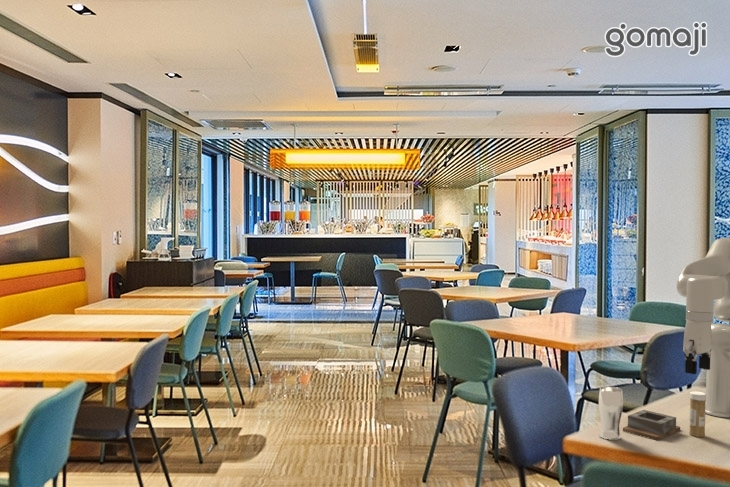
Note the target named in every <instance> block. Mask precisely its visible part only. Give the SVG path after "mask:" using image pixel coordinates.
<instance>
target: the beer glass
mask: <svg viewBox="0 0 730 487" xmlns="http://www.w3.org/2000/svg"><path fill="white" fill-rule="evenodd" d="M623 395H624V394H623V389H622V388H620V387H615V386H610V385H609V386H607V385H606V386H604V385H603V386H600V387H599V394H598V410H599V418H600V430H599V434H598V435H599V437H600V438H601V437H602V438H601V439H603V438H604V440H607V439H609V440H608V441H619V440H620V439H621V432H620V423H621V418H622V414H623V408H624V405H623V404H624V397H623ZM618 439H619V440H618Z"/></svg>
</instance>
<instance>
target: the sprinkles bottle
mask: <svg viewBox="0 0 730 487" xmlns="http://www.w3.org/2000/svg"><path fill="white" fill-rule="evenodd" d="M689 399H690V400H689V401H690V402H689V405H690V406H689V430H688V434H689V435H690V436H692V437H696V438H703V437H705V436H706V434H705V430H706V413H705V404H706V392H703V391H702V392H701V391H698V390H697V391H695V390H694V391H691V392H689Z"/></svg>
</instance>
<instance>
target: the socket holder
mask: <svg viewBox="0 0 730 487" xmlns="http://www.w3.org/2000/svg"><path fill="white" fill-rule="evenodd" d="M680 430H681V426H680V425H679V426H678V425H677V417H676V416H672V415H668V414H663V413H659V412H654V411H651V410H646V409H641V410H639V411H636V412H632V413H631V414H629V415H627V426H624V427H622V432H625V431H626V432H625V433H629V432H630V433H629V434H632V433H634V434H633V435H636V434H637V435H636V436H640V435H641V436H640V437H643V436H645V437H644V438H647V437H649V438H648V439H651V438H653V439H652V440H654V439H656V440H655V441H659V440H661V439H663V438H665V436H666V437H667V435H668V436H670V435H672V434H675V433H677V432H679V431H680ZM674 432H675V433H674ZM660 438H661V439H660ZM658 439H659V440H658Z"/></svg>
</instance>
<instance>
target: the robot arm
mask: <svg viewBox="0 0 730 487" xmlns="http://www.w3.org/2000/svg"><path fill="white" fill-rule="evenodd" d="M676 290H677V293H678V294H679V295H680V296H681V297H684V298H685V299H686V300H685V302H686V303H685V304H686V305H685V321H686V322H685V327H684V334H683V342H682V343H683V346H682V347H683V348H682V350H683V352H684V360H685V361H684V362H685V363H684V364H685V365H684V368H685V369H684V372H685V373H686V374H691V375H696V374H697V372H698V371H697V370H698V369H697V368H699V369H702V370H705V371H706V373H705V374H706V378H705V394H706V402H705V415H710V416H714V417H720V418H728V419H730V237H720V238H718V239H716V240H714V241H713V242H712V244H711V246H710V247H709V250H708V252H707V254H706V255H705V257H703V258H699V259H698V260H696V261H693V262H691V263H689V264H687V265H685V266H684V268H683V269H682V270H681V272H680V274H679V276H678V278H677V282H676ZM714 318H715V320H717V321H720V322H721V323H718V322H717V323H713V322H714ZM722 322H724V323H722ZM697 357H698V361H697Z"/></svg>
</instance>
